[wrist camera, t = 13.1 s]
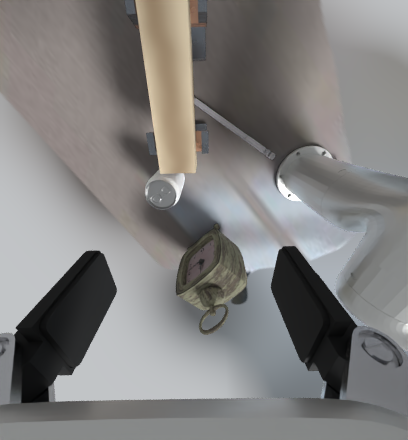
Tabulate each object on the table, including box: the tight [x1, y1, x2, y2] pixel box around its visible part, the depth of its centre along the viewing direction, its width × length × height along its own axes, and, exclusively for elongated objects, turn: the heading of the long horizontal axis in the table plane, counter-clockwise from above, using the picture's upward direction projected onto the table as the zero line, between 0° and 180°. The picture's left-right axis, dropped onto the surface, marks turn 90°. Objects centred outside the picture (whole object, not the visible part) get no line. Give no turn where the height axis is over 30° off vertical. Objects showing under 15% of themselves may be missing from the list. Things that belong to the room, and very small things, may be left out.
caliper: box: [194, 97, 276, 160], centre depth 34 cm, size 20×1×6 cm, turn 58°
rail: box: [135, 0, 197, 174], centre depth 22 cm, size 5×22×6 cm, turn 2°
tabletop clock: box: [176, 224, 247, 335], centre depth 40 cm, size 14×9×25 cm, turn 137°
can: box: [145, 169, 185, 210], centre depth 36 cm, size 6×6×12 cm
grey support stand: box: [125, 0, 208, 155], centre depth 28 cm, size 9×20×13 cm, turn 1°
